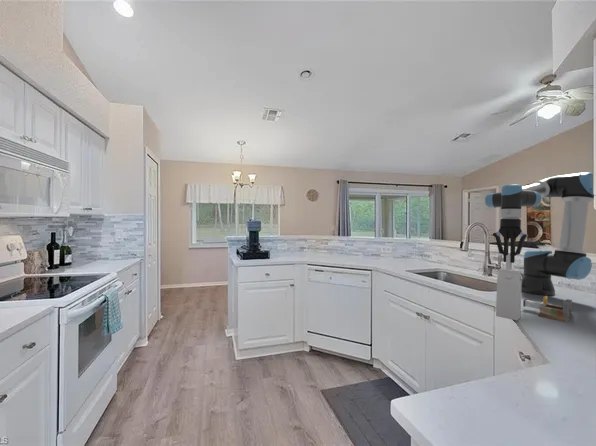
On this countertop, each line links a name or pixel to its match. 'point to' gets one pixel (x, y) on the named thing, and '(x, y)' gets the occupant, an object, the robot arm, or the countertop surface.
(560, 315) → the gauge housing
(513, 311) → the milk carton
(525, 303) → the plunger
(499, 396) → the countertop surface
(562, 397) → the countertop surface
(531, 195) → the robot arm
